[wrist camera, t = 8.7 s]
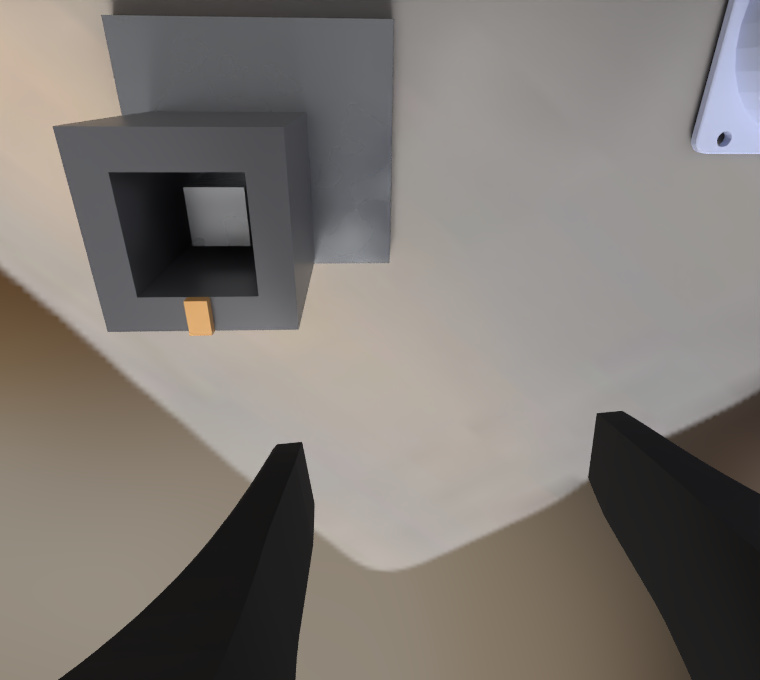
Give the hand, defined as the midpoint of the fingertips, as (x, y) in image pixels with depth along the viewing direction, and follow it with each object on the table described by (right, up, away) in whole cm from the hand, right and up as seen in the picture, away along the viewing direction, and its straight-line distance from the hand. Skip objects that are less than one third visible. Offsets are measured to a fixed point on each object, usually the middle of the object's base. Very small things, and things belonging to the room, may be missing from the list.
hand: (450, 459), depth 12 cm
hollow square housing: (-7, +8, +6) cm, 12 cm away
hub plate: (-6, +10, +6) cm, 13 cm away
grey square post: (-7, +8, +6) cm, 13 cm away
